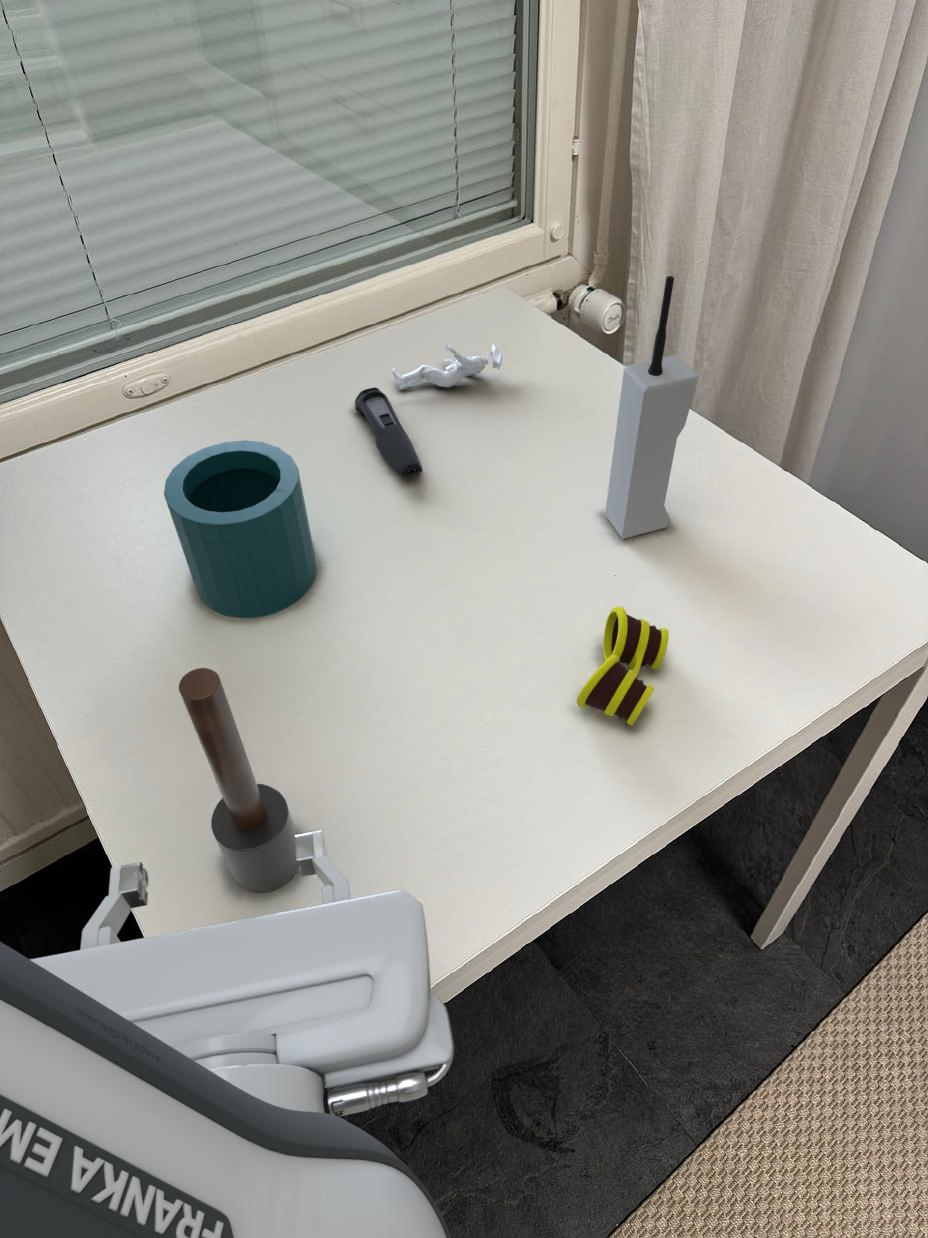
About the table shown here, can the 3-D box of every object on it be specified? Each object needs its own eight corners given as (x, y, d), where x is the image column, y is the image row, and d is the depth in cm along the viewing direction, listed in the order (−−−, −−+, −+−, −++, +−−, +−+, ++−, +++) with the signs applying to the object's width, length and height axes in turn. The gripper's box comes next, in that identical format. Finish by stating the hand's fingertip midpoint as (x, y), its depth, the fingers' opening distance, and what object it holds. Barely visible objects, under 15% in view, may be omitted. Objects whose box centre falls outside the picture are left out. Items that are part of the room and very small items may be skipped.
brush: (241, 905, 61) (164, 734, 46) (221, 845, 64) (142, 667, 49) (311, 874, 62) (257, 699, 47) (288, 817, 65) (231, 636, 50)
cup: (214, 634, 77) (182, 540, 69) (182, 556, 84) (150, 462, 76) (333, 592, 80) (316, 498, 72) (294, 521, 87) (274, 427, 79)
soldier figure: (395, 379, 105) (486, 333, 105) (413, 417, 106) (504, 371, 105) (389, 365, 98) (487, 316, 97) (408, 406, 98) (507, 356, 97)
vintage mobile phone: (668, 528, 85) (719, 279, 67) (621, 541, 84) (659, 291, 66) (650, 504, 88) (694, 258, 69) (604, 516, 87) (636, 269, 68)
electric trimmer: (395, 492, 90) (393, 467, 88) (352, 408, 100) (349, 384, 97) (430, 483, 91) (429, 458, 89) (384, 401, 101) (382, 376, 98)
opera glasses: (631, 742, 70) (652, 707, 66) (569, 715, 70) (586, 680, 67) (659, 653, 76) (679, 617, 72) (601, 629, 77) (619, 592, 73)
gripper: (461, 1068, 37) (410, 787, 46) (-54, 1179, 35) (0, 859, 44) (463, 1108, 42) (416, 846, 51) (9, 1209, 39) (46, 914, 49)
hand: (221, 852), depth 47 cm, fingers open, 8 cm apart
